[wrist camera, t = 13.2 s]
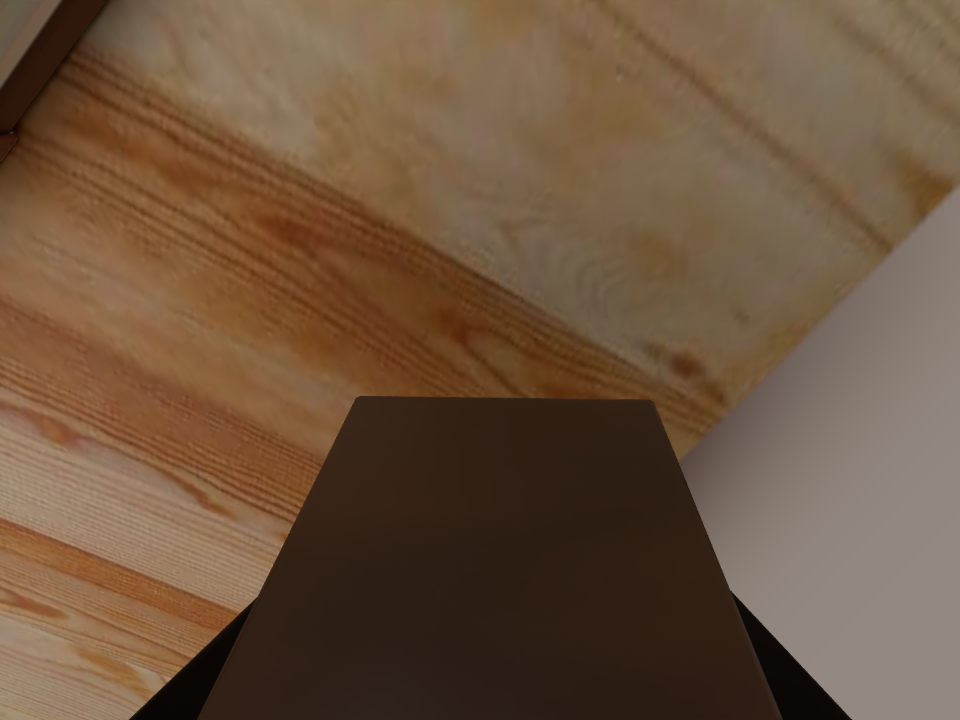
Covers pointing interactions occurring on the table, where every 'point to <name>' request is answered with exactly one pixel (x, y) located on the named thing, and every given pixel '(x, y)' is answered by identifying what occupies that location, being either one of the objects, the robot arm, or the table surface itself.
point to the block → (495, 576)
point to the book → (34, 51)
